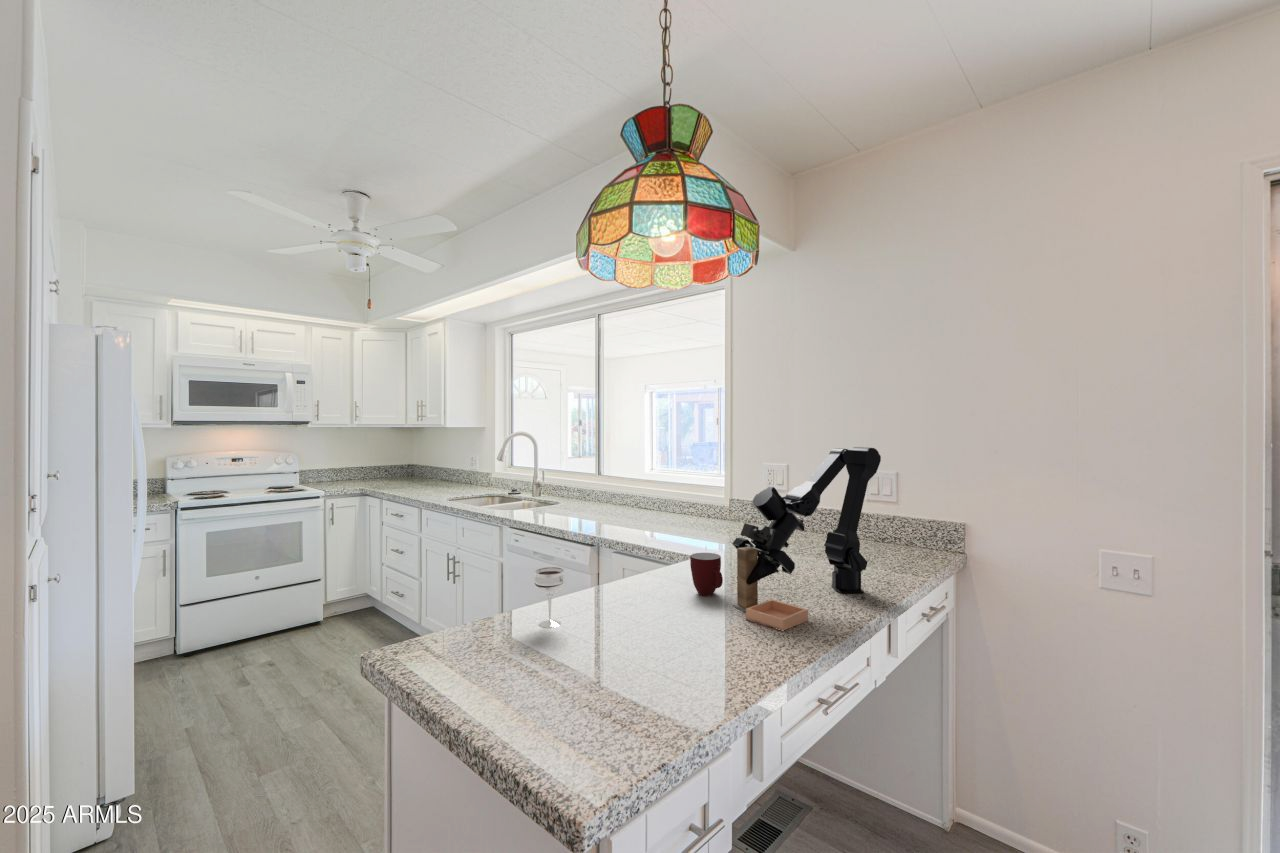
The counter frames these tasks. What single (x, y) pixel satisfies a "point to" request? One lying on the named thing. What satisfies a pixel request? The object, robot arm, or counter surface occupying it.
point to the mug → (706, 572)
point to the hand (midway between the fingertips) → (742, 581)
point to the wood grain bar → (745, 566)
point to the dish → (777, 614)
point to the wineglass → (549, 588)
